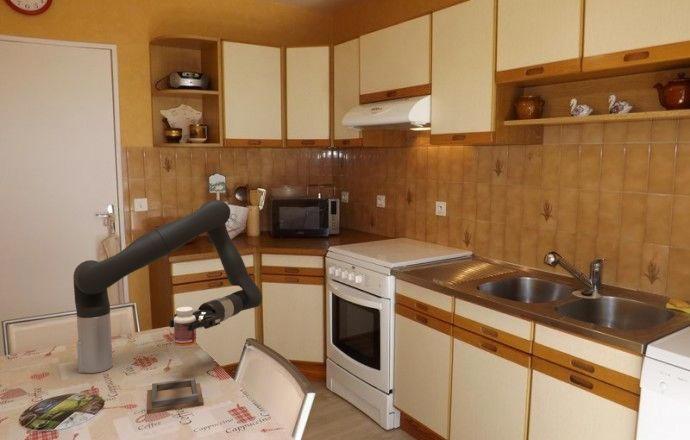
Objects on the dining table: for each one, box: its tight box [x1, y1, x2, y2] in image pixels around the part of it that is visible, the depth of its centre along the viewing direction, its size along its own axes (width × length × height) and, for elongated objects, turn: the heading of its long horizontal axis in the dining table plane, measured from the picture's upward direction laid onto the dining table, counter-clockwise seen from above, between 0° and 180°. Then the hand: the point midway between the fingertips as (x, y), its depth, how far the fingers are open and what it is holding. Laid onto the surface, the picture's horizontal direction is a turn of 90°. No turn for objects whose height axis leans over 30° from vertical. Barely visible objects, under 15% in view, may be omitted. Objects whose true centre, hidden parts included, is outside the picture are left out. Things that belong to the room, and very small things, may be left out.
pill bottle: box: [173, 306, 197, 349], centre depth 153 cm, size 6×6×11 cm
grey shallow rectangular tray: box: [146, 377, 205, 415], centre depth 140 cm, size 14×12×3 cm
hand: (179, 325), depth 151 cm, fingers closed on pill bottle, 6 cm apart
